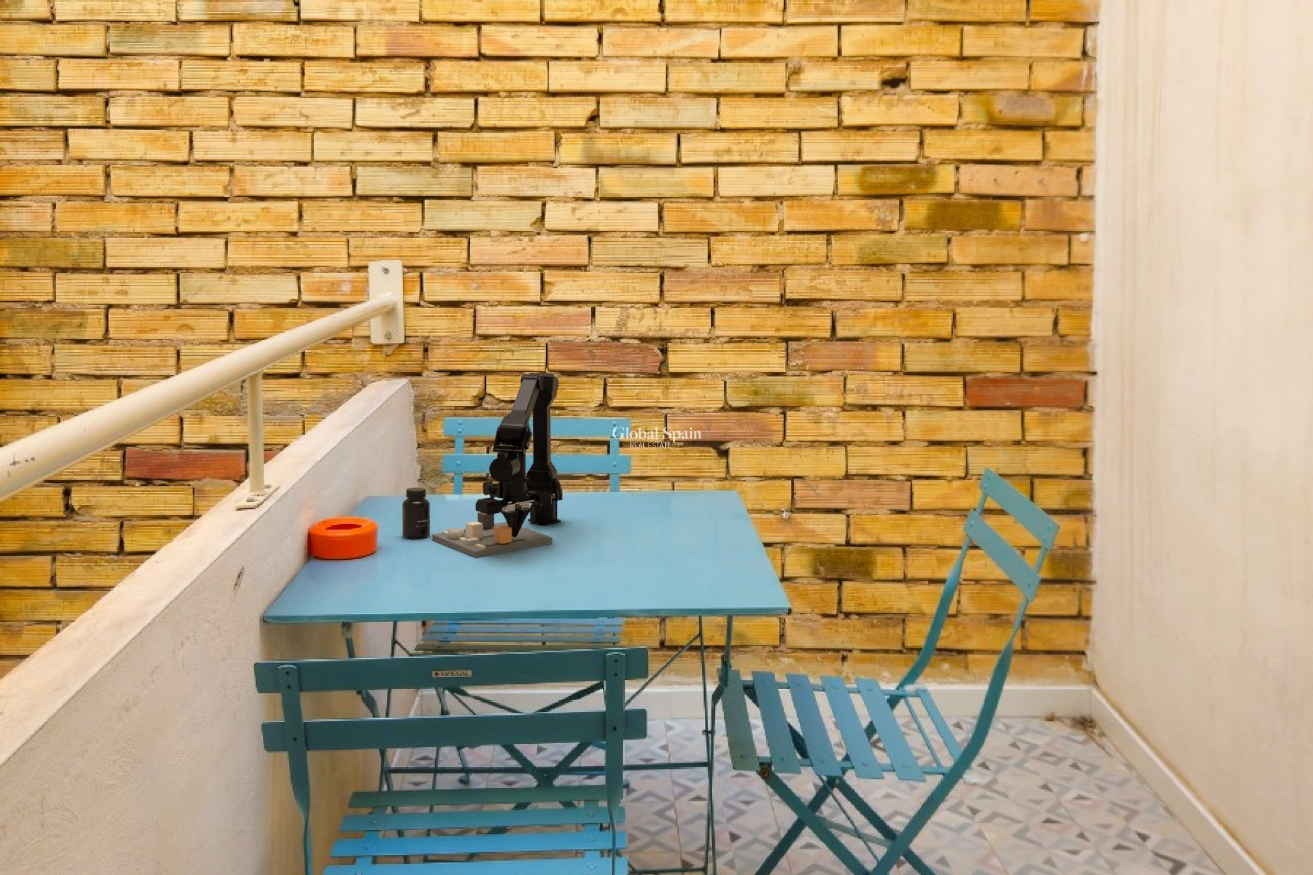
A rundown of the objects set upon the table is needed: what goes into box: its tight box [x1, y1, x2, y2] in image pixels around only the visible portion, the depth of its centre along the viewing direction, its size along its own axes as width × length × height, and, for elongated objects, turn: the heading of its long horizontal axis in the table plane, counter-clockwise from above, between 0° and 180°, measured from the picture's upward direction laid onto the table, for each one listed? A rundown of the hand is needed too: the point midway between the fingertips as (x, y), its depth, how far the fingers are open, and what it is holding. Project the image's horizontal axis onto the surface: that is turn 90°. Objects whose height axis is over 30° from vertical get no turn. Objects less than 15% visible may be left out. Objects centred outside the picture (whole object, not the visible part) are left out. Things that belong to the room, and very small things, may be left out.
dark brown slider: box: [477, 512, 495, 529], centre depth 311 cm, size 3×3×4 cm
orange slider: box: [494, 525, 512, 544], centre depth 296 cm, size 3×3×4 cm
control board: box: [431, 521, 553, 559], centre depth 303 cm, size 22×20×4 cm
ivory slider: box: [465, 520, 483, 539], centre depth 300 cm, size 3×3×4 cm
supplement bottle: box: [401, 487, 431, 540], centre depth 307 cm, size 7×7×12 cm
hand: (514, 536), depth 298 cm, fingers closed
